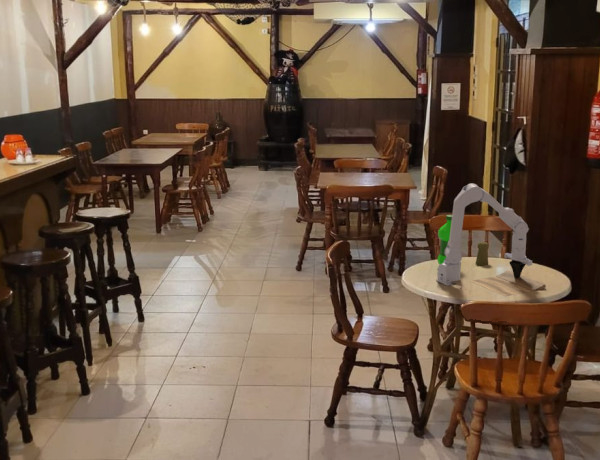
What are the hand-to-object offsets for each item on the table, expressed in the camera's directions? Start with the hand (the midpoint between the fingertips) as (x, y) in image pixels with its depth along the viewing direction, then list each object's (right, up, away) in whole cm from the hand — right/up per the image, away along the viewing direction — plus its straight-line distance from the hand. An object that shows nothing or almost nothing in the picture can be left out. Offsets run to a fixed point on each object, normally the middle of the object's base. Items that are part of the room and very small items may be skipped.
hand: (517, 277), depth 291 cm
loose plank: (+1, -2, -2) cm, 3 cm away
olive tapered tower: (-8, +4, +29) cm, 30 cm away
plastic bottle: (-25, +3, +24) cm, 35 cm away
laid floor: (-10, -5, -7) cm, 13 cm away
